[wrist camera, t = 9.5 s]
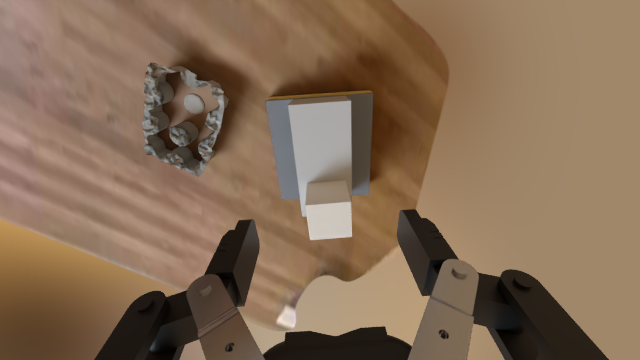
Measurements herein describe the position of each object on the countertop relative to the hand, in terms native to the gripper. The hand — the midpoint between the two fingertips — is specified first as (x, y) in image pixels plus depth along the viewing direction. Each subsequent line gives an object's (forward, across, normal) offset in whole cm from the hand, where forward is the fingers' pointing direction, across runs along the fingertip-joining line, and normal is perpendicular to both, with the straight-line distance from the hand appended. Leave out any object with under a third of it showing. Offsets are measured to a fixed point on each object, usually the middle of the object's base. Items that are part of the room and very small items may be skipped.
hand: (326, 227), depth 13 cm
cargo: (+11, 0, +5) cm, 12 cm away
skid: (+15, 0, +2) cm, 15 cm away
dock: (+18, 0, +2) cm, 18 cm away
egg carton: (+18, +14, -2) cm, 23 cm away
